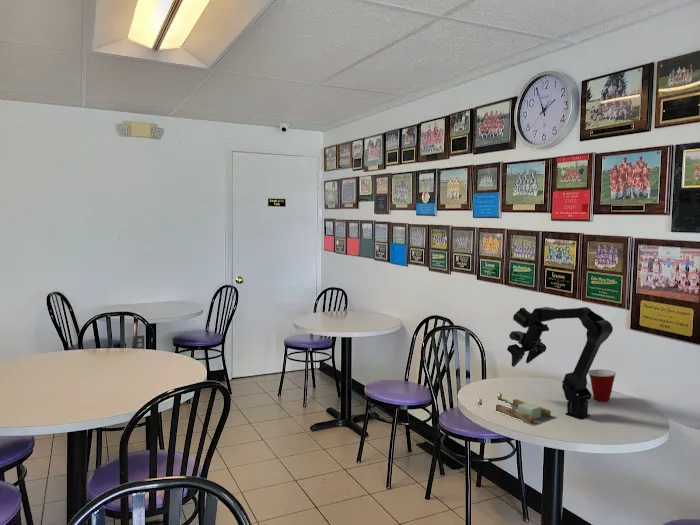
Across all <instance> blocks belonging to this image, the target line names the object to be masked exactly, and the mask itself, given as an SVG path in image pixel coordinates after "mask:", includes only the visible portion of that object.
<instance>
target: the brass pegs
mask: <svg viewBox="0 0 700 525" xmlns="http://www.w3.org/2000/svg"><path fill="white" fill-rule="evenodd" d="M497 398H498V400H503V393H499V392H498V393H497ZM482 402H483V399H481V398H477V404H478V405H482Z"/></svg>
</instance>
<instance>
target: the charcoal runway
mask: <svg viewBox="0 0 700 525" xmlns="http://www.w3.org/2000/svg"><path fill="white" fill-rule="evenodd" d="M503 400H504V401H505V403H509V404H510V405H511V407H512V409H514V410H518V407H515V406H513V402H510V401H508V400H505V399H503ZM555 419H557V417H556V416H553V415H550V417H545V416H542V415H541V417H539V418H536V419H533V423H531V424H530V423H528V422H525V421H523V422H522V423H525V424H526V425H530V426H533V427H535V426H537V425H541V424H543V423H546V422H547V423H548V422H550V421H553V420H555ZM519 422H521V421H520V420H519Z"/></svg>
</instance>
